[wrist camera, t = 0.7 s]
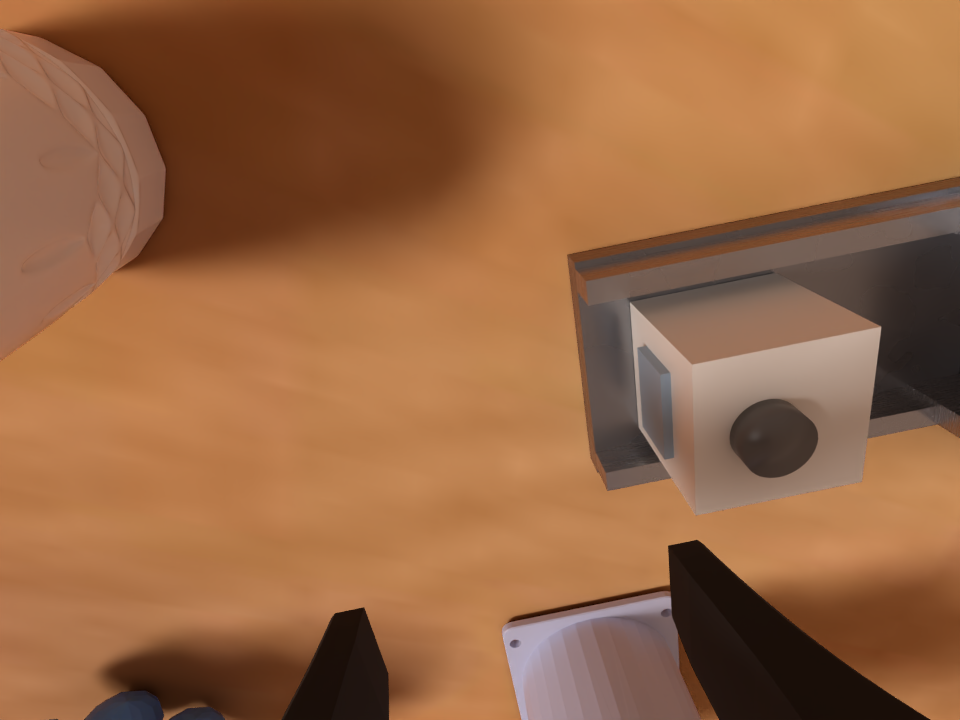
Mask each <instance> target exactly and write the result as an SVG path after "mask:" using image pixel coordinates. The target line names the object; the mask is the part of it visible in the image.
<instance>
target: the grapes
mask: <svg viewBox="0 0 960 720" xmlns="http://www.w3.org/2000/svg"><path fill="white" fill-rule="evenodd" d="M163 717H164V714H163V711H162V708H161V705H160V702H159V700H158V698H157V697H156V696H154V695H153V694H151V693H149V692H147V691H146V690H145V691H129V692H120V693H119V694H117V695H115V696H113V697H111V698H109V699H107V700H105V701H104V702H102V703H101V704H99V705H98V706H96V707H95V709H94V710H93V711H92V712H91V713H90V714H89V715H88V716H87V717H86V718H85V719H84V720H163ZM51 720H58V719H51ZM169 720H225V718H224V717H223V715H222V714H221V713H220V712H218V711H217V710H215V709H213V708H211V707H198V708H188V709H186V710H184V711H182V712H180V713H178V714H177V715H175V716H173V717H171V718H170V719H169Z"/></svg>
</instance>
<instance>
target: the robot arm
mask: <svg viewBox="0 0 960 720" xmlns="http://www.w3.org/2000/svg"><path fill="white" fill-rule="evenodd" d="M668 552H669V571H670V591H671V592H669V591H660V592H656V593H651V594H646V595H641V596H636V597H631V598H626V599H621V600H616V601H611V602H606V603H601V604H597V605H592V606H587V607H582V608H577V609H572V610H567V611H562V612H557V613H552V614H547V615H542V616H538V617H533V618H528V619H523V620H518V621H513V622H509V623H507V624H506V625H504V626H503V628H502V636H503V641H504V645H505V649H506V654H507V658H508V662H509V667H510V671H511V675H512V680H513V684H514V689H515V693H516V697H517V702H518V706H519V710H520V715H521V719H522V720H701V718H700V716H699V713H698V711H697V709H696V707H695V704H694V702H693V700H692V698H691V695H690V693H689V691H688V689H687V686H686V684H685V682H684V680H683V677H682V675H681V673H680V669H679V647H678V633H679V636H680V639H681V641H682V644H683V646H684V649H685V651H686V654H687V656H688V658H689V661H690V663H691V666H692V668H693V670H694V672H695V674H696V676H697V678H698V680H699V681H700V683H701V685H702V687H703V689H704V691H705V693H706V695H707V697H708V699H709V701H710V703H711V705H712V707H713V708H714V710H715V712H716V714H717V716H718V718H719V720H930V719H928V718H927V717H925V716H924V715H922V714H920V713H919V712H917V711H916V710H914V709H913V708H911V707H909V706H908V705H906V704H905V703H903V702H902V701H900V700H898V699H897V698H895V697H894V696H892V695H891V694H889V693H888V692H886V691H885V690H883V689H882V688H880V687H879V686H877V685H876V684H874V683H873V682H871V681H870V680H868V679H867V678H865V677H864V676H862V675H861V674H860V673H858V672H857V671H855V670H854V669H852V668H851V667H850V666H848V665H847V664H846V663H844V662H843V661H841V660H840V659H839V658H837V657H836V656H835V655H833V654H832V653H831V652H829V651H828V650H827V649H825V648H824V647H823V646H821V645H820V644H819V643H817V642H816V641H815V640H813V639H812V638H811V637H809V636H808V635H807V634H806V633H804V632H803V631H802V630H801V629H799V628H798V627H797V626H796V625H794V624H793V623H792V622H791V621H789V620H788V619H787V618H786V617H785V616H783V615H782V614H781V613H780V612H779V611H777V610H776V609H775V608H774V607H772V606H771V605H770V604H769V603H768V602H766V601H765V600H764V599H763V598H762V597H761V596H759V595H758V594H757V593H756V592H755V591H754V590H753V589H751V588H750V587H749V586H748V585H747V584H746V583H745V582H744V581H742V580H741V579H740V578H739V577H738V576H737V575H736V574H735V573H733V572H732V571H731V570H730V569H729V568H728V567H727V566H726V565H725V564H724V563H723V562H722V561H720V560H719V559H718V558H717V557H716V556H715V555H714V554H713V553H712V552H711V551H710V550H709V549H708V548H707V547H706V546H705V545H704V544H703V543H701V542H699V541H698V540H695V541H690V542H685V543H680V544H675V545H670V546H668ZM664 609H665V610H664ZM282 720H389V687H388V672H387V669H386V666H385V663H384V661H383V658H382V655H381V652H380V650H379V647H378V644H377V642H376V639H375V636H374V633H373V631H372V628H371V625H370V622H369V620H368V617H367V614H366V611H365V609H364V608H359V609H354V610H349V611H344V612H339V613H335V614H334V616H333V617H332V618H331V620H330V622H329V625H328V627H327V629H326V631H325V633H324V636H323V638H322V640H321V642H320V644H319V646H318V648H317V651H316V653H315V655H314V657H313V659H312V661H311V663H310V665H309V667H308V669H307V671H306V673H305V675H304V677H303V679H302V681H301V683H300V685H299V687H298V689H297V691H296V693H295V695H294V697H293V699H292V701H291V702H290V704H289V706H288V708H287V710H286V712H285V714H284V716H283V718H282Z"/></svg>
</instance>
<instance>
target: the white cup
mask: <svg viewBox="0 0 960 720" xmlns="http://www.w3.org/2000/svg"><path fill="white" fill-rule="evenodd" d="M165 178H166V167H165V165H164V162H163V160H162V157H161V155H160V152H159V150H158V147H157V145H156V142H155V139H154V137H153V134H152V132H151V129H150V127H149V124H148V122H147V119H146V117H145V115H144V114H143V113H142V111H141V110H140V109H139V108H138V107H137V106H136V105H135V104H134V103H133V102H132V101H131V100H130V98H129V97H128V96H127V95H126V94H125V93H124V92H123V91H122V90H121V89H120V88H119V87H118V85H117V84H116V83H115V82H114V81H113V80H112V79H111V78H110V77H109V76H108V75H107V74H106V72H105V71H104V70H103V69H102V68H101V67H99V66H97V65H95V64H93V63H91V62H89V61H87V60H85V59H83V58H81V57H79V56H77V55H75V54H73V53H71V52H69V51H67V50H65V49H63V48H61V47H59V46H57V45H55V44H53V43H51V42H49V41H47V40H45V39H43V38H41V37H37V36H32V35H28V34H23V33H18V32H14V31H9V30H4V29H0V362H1V361H2V360H3V359H5V358H6V357H8V356H9V355H10V354H12V353H13V352H14V351H16V350H17V349H19V348H20V347H21V346H23V345H24V344H26V343H27V342H28V341H30V340H31V339H33V338H34V337H35V336H37V335H38V334H40V333H41V332H42V331H44V330H45V329H46V328H48V327H49V326H50V325H51V324H53V323H54V322H55V321H57V320H58V319H59V318H60V317H61V316H63V315H64V314H65V313H66V312H67V311H68V310H69V309H71V308H72V307H74V306H75V305H77V304H78V303H79V302H81V301H82V300H83V299H85V298H86V297H87V296H89V295H90V294H91V293H92V292H93V291H94V290H95V289H97V288H98V287H99V286H100V285H101V284H102V283H103V282H104V281H105V280H106V279H107V278H108V277H109V276H110V275H111V274H112V273H114V272H115V271H117V270H118V269H120V268H121V267H123V266H124V265H125V264H127V263H128V262H130V261H131V260H133V259H134V258H136V257H137V256H138V255H139V254H140V252H141V251H142V249H143V248H144V246H145V245H146V243H147V242H148V240H149V239H150V237H151V236H152V234H153V233H154V231H155V230H156V228H157V227H158V225H159V224H160V222H161V220H162V219H163V212H164V195H165Z"/></svg>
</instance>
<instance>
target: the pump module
mask: <svg viewBox="0 0 960 720" xmlns="http://www.w3.org/2000/svg"><path fill="white" fill-rule="evenodd" d="M630 312H631V326H632V340H633V355H634V369H635V383H636V397H637V411H638V425H639V429H640V430H641V432H642V433H643V435H644V436H645V438H646V439H647V441H648V442H649V444H650V446H651V447H652V449H653V450H654V452H655V453H656V455H657V456H658V458H659V459H660V461H661V463H662V464H663V466H664V467H665V469H666V470H667V472H668V473H669V475H670V476H671V478H672V480H673V481H674V483H675V484H676V486H677V487H678V489H679V490H680V492H681V493H682V495H683V497H684V498H685V500H686V501H687V503H688V504H689V506H690V507H691V509H692V510H693V512H694V514H695V515H701V514H706V513H710V512H715V511H720V510H725V509H730V508H735V507H740V506H745V505H750V504H755V503H760V502H765V501H770V500H775V499H780V498H785V497H789V496H794V495H799V494H804V493H809V492H814V491H819V490H824V489H829V488H834V487H839V486H844V485H849V484H854V483H859V482H862V477H863V469H864V461H865V453H866V445H867V437H868V429H869V421H870V413H871V405H872V398H873V390H874V382H875V374H876V366H877V358H878V350H879V342H880V334H881V326H879V325H877V324H875V323H873V322H871V321H869V320H867V319H865V318H863V317H861V316H859V315H857V314H855V313H853V312H851V311H850V310H848V309H846V308H844V307H842V306H840V305H838V304H836V303H834V302H832V301H830V300H828V299H826V298H824V297H822V296H820V295H818V294H816V293H814V292H812V291H810V290H808V289H806V288H804V287H802V286H800V285H798V284H796V283H794V282H792V281H791V280H789V279H787V278H785V277H783V276H781V275H779V274H777V273H772V274H767V275H762V276H757V277H752V278H747V279H742V280H737V281H732V282H727V283H722V284H717V285H712V286H707V287H702V288H697V289H692V290H687V291H682V292H677V293H672V294H667V295H662V296H657V297H652V298H647V299H642V300H637V301H632V302H630Z"/></svg>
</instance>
